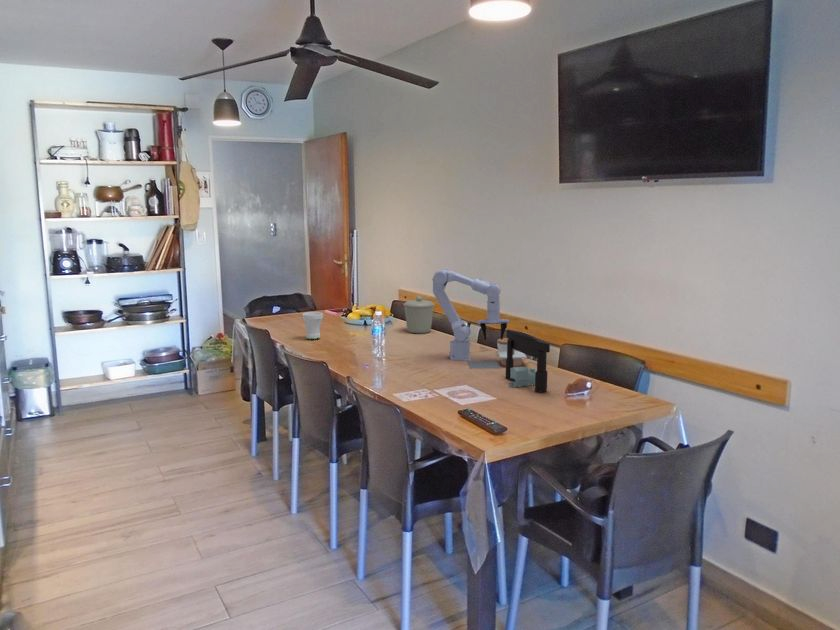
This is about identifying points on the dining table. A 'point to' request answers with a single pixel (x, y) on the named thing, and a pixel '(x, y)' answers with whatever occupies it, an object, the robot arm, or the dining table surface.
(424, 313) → the canister
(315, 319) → the cup
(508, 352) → the black arch frame
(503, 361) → the bowl
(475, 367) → the mat
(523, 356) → the lid
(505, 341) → the lidded jar
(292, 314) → the dining table surface
